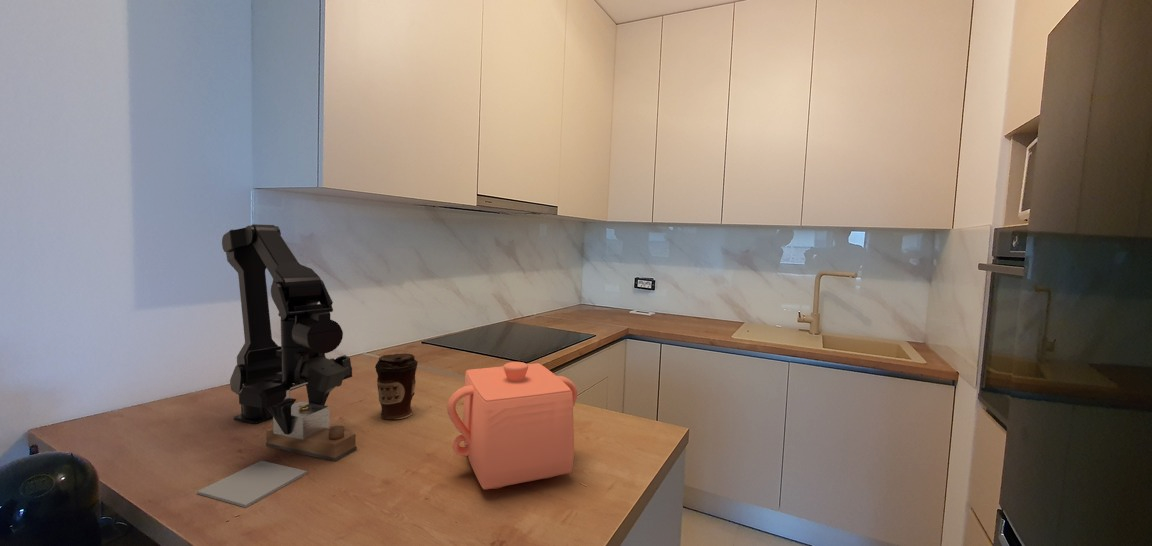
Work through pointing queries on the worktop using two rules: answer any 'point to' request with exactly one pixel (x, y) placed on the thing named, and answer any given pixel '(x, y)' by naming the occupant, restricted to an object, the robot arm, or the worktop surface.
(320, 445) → the plane body
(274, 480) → the felt pad
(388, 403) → the coffee cup
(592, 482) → the worktop surface
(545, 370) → the teapot
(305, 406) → the grey jewelry box
